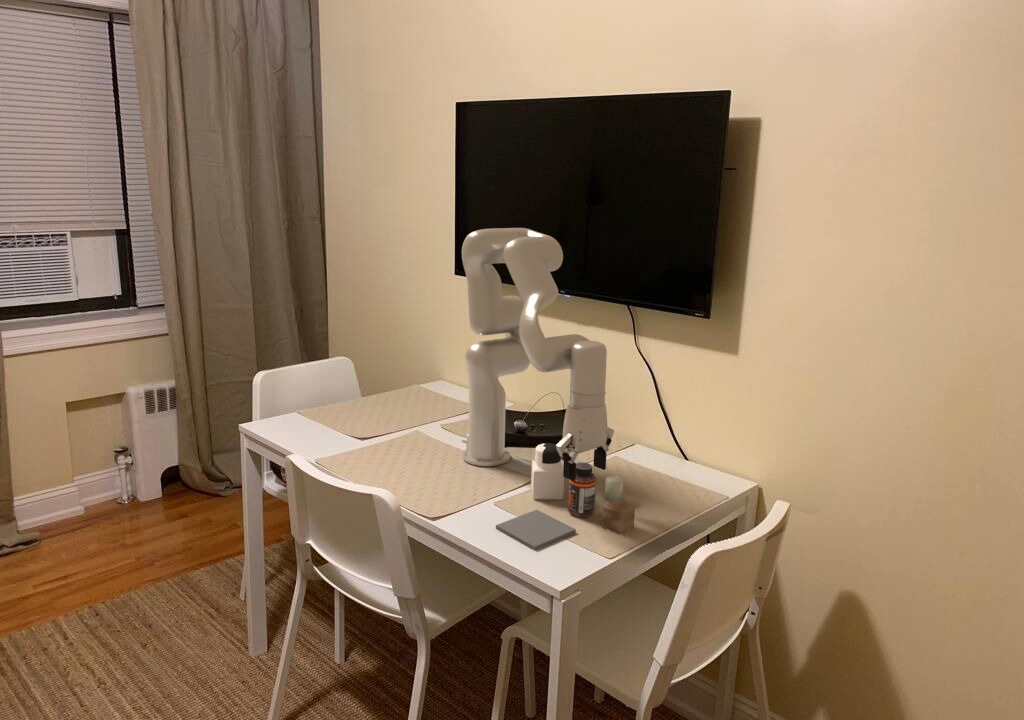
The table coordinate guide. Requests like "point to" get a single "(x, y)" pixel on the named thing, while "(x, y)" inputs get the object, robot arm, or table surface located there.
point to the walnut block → (618, 516)
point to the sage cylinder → (613, 488)
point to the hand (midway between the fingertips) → (584, 473)
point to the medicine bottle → (547, 473)
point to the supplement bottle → (582, 491)
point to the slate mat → (535, 529)
